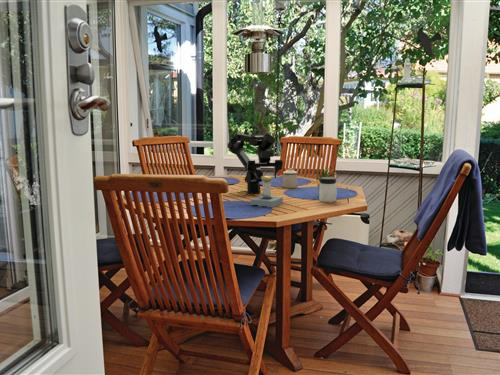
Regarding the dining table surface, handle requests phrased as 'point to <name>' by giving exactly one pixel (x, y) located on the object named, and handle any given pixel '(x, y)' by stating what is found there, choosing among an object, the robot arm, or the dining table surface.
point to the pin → (266, 187)
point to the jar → (327, 189)
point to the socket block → (267, 201)
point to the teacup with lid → (289, 178)
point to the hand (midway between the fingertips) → (266, 177)
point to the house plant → (323, 175)
